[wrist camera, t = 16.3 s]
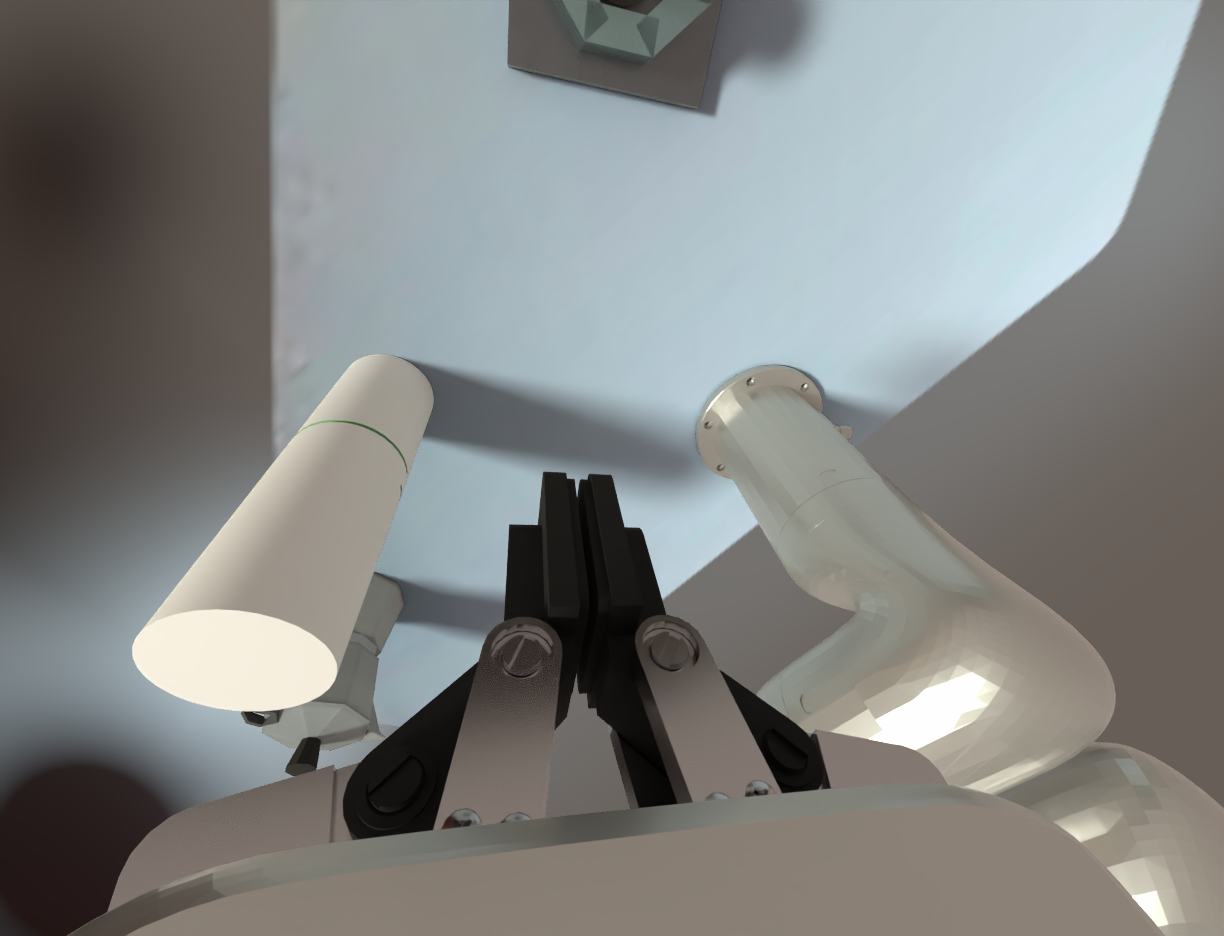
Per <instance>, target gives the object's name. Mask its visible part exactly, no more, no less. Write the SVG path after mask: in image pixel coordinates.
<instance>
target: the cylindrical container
mask: <svg viewBox="0 0 1224 936" xmlns="http://www.w3.org/2000/svg"><path fill="white" fill-rule="evenodd" d="M433 405H434V395H433V390H432V388H431V385H430V383H429V381H428V380H427V378H426V377H425V375H424V374H423V373H422V372H421V371H420V370H419V369H418V368H416V367H415V366H414V365H412V364H411V363H409V362H407V361H405V360H404V359H401V358H398V357H395V356H391V355H386V354H375V355H368V356H365V357H363V358H360V359H358V360H357V361H355V362H354V363H352V364H351V366H350V367H349V368H348V369H347V370H346V372H345V373H344V374H343V375H342V377H341V378H340V379H339V380H338V382H337V383H336V384H335V386H334V387H333V388H332V389H331V391H330V392H329V393H328V394H327V396H326V397H325V398H324V400H323V401H322V402H321V403H320V405H319V406H318V407H317V408H316V410H315V411H314V412H313V413H312V415H311V416H310V417H309V419H308V420H307V421H306V422H305V424H304V425H303V426H302V427H301V429H300V430H299V431H298V432H297V434H296V435H295V436H294V438H293V439H292V440H291V441H290V443H289V444H288V445H287V446H286V448H285V449H284V450H283V451H282V453H281V454H280V455H279V456H278V458H277V459H276V460H275V462H274V463H273V464H272V465H271V467H270V468H269V469H268V470H267V472H266V473H265V474H264V476H263V477H262V478H261V479H260V481H259V482H258V483H257V484H256V486H255V487H254V488H253V490H252V491H251V492H250V493H249V495H248V496H247V497H246V498H245V500H244V501H243V502H242V503H241V505H240V506H239V507H238V509H237V510H236V511H235V512H234V514H233V515H232V516H231V518H230V519H229V520H228V521H227V523H226V524H225V525H224V526H223V528H222V529H221V530H220V531H219V533H218V534H217V535H216V537H215V538H214V539H213V540H212V542H211V543H210V544H209V545H208V547H207V548H206V549H205V551H204V552H203V553H202V554H201V556H200V557H199V558H198V559H197V561H196V562H195V563H194V565H193V566H192V567H191V568H190V570H189V571H188V572H187V573H186V575H185V576H184V577H183V579H182V580H181V581H180V582H179V584H178V585H177V586H176V588H175V589H174V590H173V591H172V593H171V594H170V595H169V596H168V598H167V599H166V600H165V602H164V603H163V604H162V605H161V606H160V608H159V609H158V610H157V612H156V613H155V614H154V615H153V617H152V618H151V619H150V620H149V622H148V623H147V624H146V626H145V627H144V628H143V629H142V631H141V632H140V633H139V634H138V636H137V637H136V639H135V641H134V644H133V647H132V653H133V659H134V662H135V663H136V666H137V668H138V669H139V670H140V671H141V673H142V674H143V675H144V676H145V677H146V678H147V679H148V680H150V681H151V682H152V683H154V684H155V685H156V686H157V687H159V688H161V689H163V690H165V691H166V692H168V693H170V694H172V695H174V696H177V697H179V698H182V699H185V700H187V701H190V702H194V703H197V704H201V705H204V706H208V707H213V708H219V709H225V710H235V711H271V710H280V709H285V708H290V707H295V706H298V705H301V704H304V703H307V702H309V701H311V700H313V699H315V698H317V697H319V696H321V695H322V694H323V693H325V692H326V691H327V690H328V689H329V688H330V687H331V685H332V684H333V683H334V681H335V679H336V676H337V673H338V671H339V668H340V665H341V662H342V659H343V657H344V654H345V651H346V648H347V645H348V643H349V640H350V637H351V634H352V631H353V629H354V626H355V623H356V620H357V617H358V615H359V612H360V609H361V606H362V604H363V601H364V598H365V595H366V592H367V590H368V587H369V584H370V581H371V578H372V576H373V573H374V570H375V567H376V565H377V562H378V559H379V556H380V553H381V551H382V548H383V545H384V542H385V540H386V537H387V534H388V531H389V529H390V526H391V523H392V520H393V517H394V515H395V512H396V509H397V506H398V503H399V501H400V498H401V495H402V492H403V490H404V487H405V484H406V481H407V478H408V476H409V473H410V470H411V467H412V464H413V462H414V459H415V456H416V453H417V450H418V448H419V445H420V442H421V439H422V437H423V434H424V431H425V428H426V426H427V423H428V420H429V417H430V415H431V412H432V409H433Z"/></svg>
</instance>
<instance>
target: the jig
mask: <svg viewBox="0 0 1224 936" xmlns="http://www.w3.org/2000/svg"><path fill="white" fill-rule="evenodd" d="M721 4H722V0H642V1H640V2H638V3H636V4H634V5H629V6H621V5H616V4H613V3H611V2H609V1H608V0H509V29H508V67H510V68H514V69H519V70H523V71H527V72H532V73H536V74H541V75H545V76H550V77H554V78H558V79H563V80H567V81H572V82H576V83H581V84H585V85H589V86H594V87H598V88H603V89H607V90H612V91H616V92H620V93H625V94H629V95H634V96H638V97H643V98H647V99H652V100H656V101H660V102H665V103H669V104H674V105H678V106H683V107H687V108H691V109H695V108H699V107H700V103H701V98H702V93H703V88H704V84H705V79H706V74H707V70H708V65H709V60H710V56H711V51H712V46H713V41H714V37H715V32H716V27H717V23H718V18H719V13H720V9H721Z"/></svg>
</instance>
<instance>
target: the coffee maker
mask: <svg viewBox="0 0 1224 936" xmlns="http://www.w3.org/2000/svg"><path fill="white" fill-rule="evenodd" d="M404 604H405V603H404V600H403V597H402V593H401V590H400V587H399V584H397V583H395V582H393V581H391V580H389V579H387V578H385V577H383V576H381V575H379V574H377V573H375V572H374V573H373V576H372V578H371V581H370V584H369V587H368V590H367V592H366V595H365V598H364V601H363V604H362V606H361V609H360V612H359V615H358V617H357V620H356V623H355V626H354V629H353V631H352V634H351V637H350V640H349V643H348V645H347V648H346V651H345V654H344V657H343V659H342V662H341V665H340V668H339V671H338V673H337V676H336V679H335V681H334V683H333V684H332V685H331V687H330V688H329V689H328V690H327V691H326V692H325V693H323V694H322V695H321V696H319V697H317V698H315V699H313V700H311V701H309V702H307V703H304V704H301V705H298V706H295V707H290V708H285V709H280V710H271V711H242V712H241V715H242V716H243V718H244V720H245V722H246V723H247V724H250V725H255V726H258V727H262V726H263V728H262V733H263V734H265V735H267V736H269V737H270V738H272V739H274V740H276V741H278V742H280V743H281V744H283V745H285V746H287V747H289V748H297V749H296V751H295V753H294V754H293V756H292V758H291V760H290V762H289V763H288V765H287V767H286V771H285V772H286V773H288V774H290V775H292V776H298V775H301V774H305V773H308V772H312V771H315V770H316V768H317V762H318V757H319V751H320V750H330V751H331V750H334V749H337V748H340V747H343V746H346V745H349V744H352V743H355V742H361V741H370V740H379V739H384V738H385V737H384V736H383V735H382V734H381V733H380V731H379V727H378V722H377V718H376V713H375V708H374V704H373V696H374V689H375V682H376V675H377V668H378V661H379V659H378V658H377V656H378V655H379V654H380V653H381V651H382V649H383V647H384V645H385V643H386V641H387V639H388V637H389V635H390V633H391V630H392V628H393V626H394V624H395V622H396V620H397V618H398V616H399V614H400V612H401V610H402V608H403V606H404ZM253 712H256V713H262V714H265V715H264V716H261V715H258V714H256V713H253Z"/></svg>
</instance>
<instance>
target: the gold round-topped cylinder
mask: <svg viewBox="0 0 1224 936" xmlns="http://www.w3.org/2000/svg"><path fill="white" fill-rule="evenodd" d="M608 1H609V2H611V3H613V4H616V5H621V6H629V5H634V4H636V3H638V2H640V1H642V0H608Z"/></svg>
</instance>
